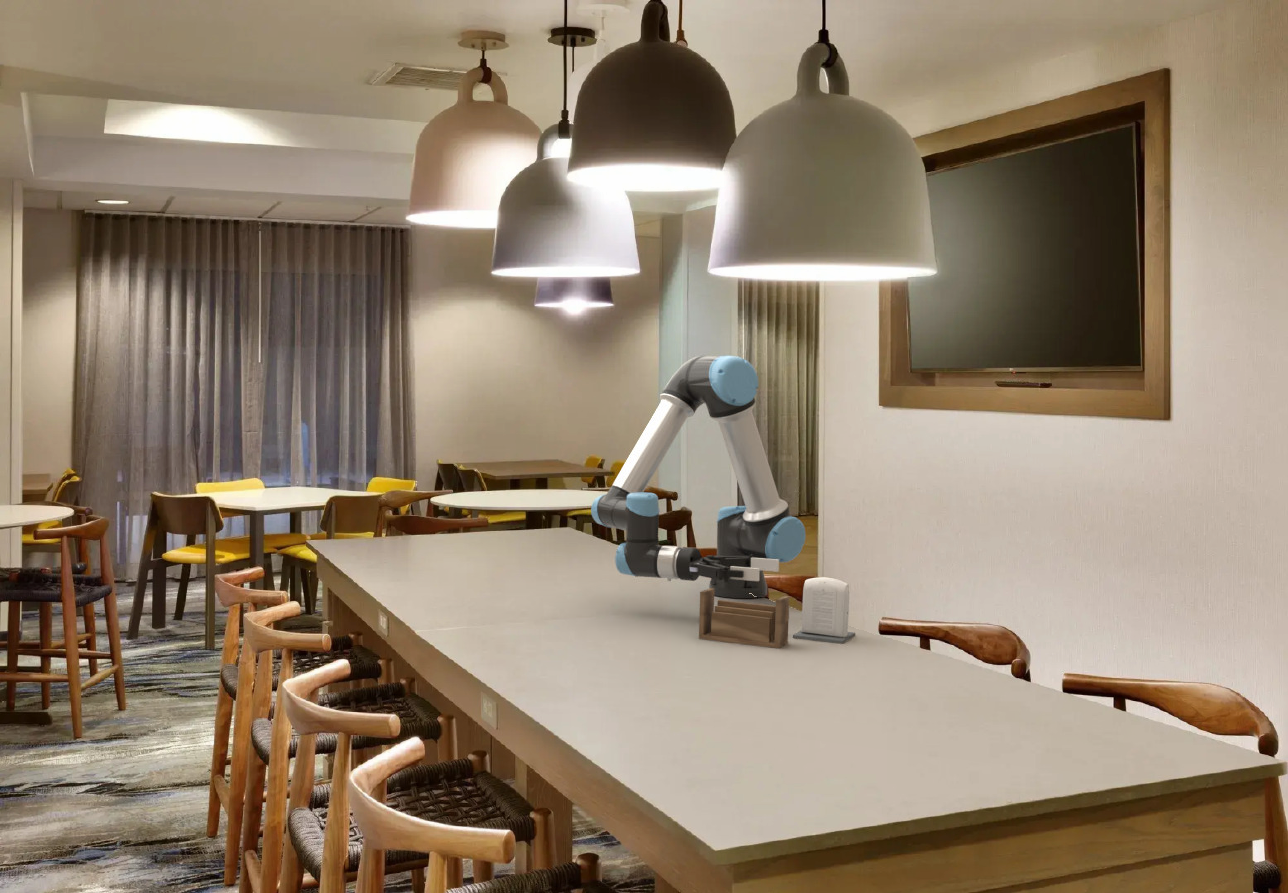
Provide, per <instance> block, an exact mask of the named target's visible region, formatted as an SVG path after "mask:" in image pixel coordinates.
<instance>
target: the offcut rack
mask: <svg viewBox="0 0 1288 893" xmlns="http://www.w3.org/2000/svg"><path fill="white" fill-rule="evenodd" d="M698 618H699V619H698V622H699V623H698V639H699V640H700V639H701V640H709V641H717V642H723V643H732V644H739V645H740V644H741V645H747V646H748V645H749V646H757V647H765V648H772V649H773V648H774V649H781V648H782V647H785V646H786V645H787V644H788V643H789V624H790V623H789V621H790V620H789V618H790V596H789V595H788V596H787V595H784V596H782V597H779V598H777V599H776V600H775V605H770V604H769V605H768V604H761V603H760V604H759V603H751V602H742V601H732V600H723V599H719V600H717V605H715V595H714V589H713V588H709V587H708V588H707V589H705V590H702V591H700V592H699V617H698Z"/></svg>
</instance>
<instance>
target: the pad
mask: <svg viewBox="0 0 1288 893" xmlns="http://www.w3.org/2000/svg"><path fill="white" fill-rule="evenodd" d="M855 636H856V632H855V631H854V632H853V631H848V635H847V637H836V636H828V635H821V634H813V633H805V632H802V631H801V630H799V631H798V632H796V633H794V634H792V638H794V639H800V640H810V641H817V642H826V643H832V644H833V643H834V644H844V643H846V642H847V641H848V640H850V639H852V638H853V637H855Z"/></svg>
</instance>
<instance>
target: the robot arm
mask: <svg viewBox="0 0 1288 893" xmlns="http://www.w3.org/2000/svg"><path fill="white" fill-rule="evenodd" d="M757 374H758V373H757V371H756V369H755V368H754V366H753V365H752V363H750V361H748V360H747V359H744V357H740V356H736V355H735V356H734V355H731V354H728V355H727V354H726V355H725V354H724V355H698V356H695V357H692V358H691V359H689V360H687V361H686V362H684V363H683V364H682V365H681V366H680V367H678V369H677V370H676V372H675V373H673V375H672V376H671V378H670V379H669V381H667V383H666V385H665V387H664V388H663V390H662V391H661V393H660V395H659V400H660V403H659V405H658V407H656V410H655V412H654V413H653V415H652V417H651V419H650V420H649V421H648V424H647V425H646V427H645V429H644V430H643V432H642V433H641V435H640V437H639V439H638V440H637V442H636V444H635V445H634V448H633V449H632V451H631V452H630V454H629V456H628V457H627V459H626V461H625V462H624V464H623V466H622V467H621V469H620V471H619V473H618V474H617V476H616V478H615V480H614V481H613V482H612V485H611V486H610V488H609V489H608V491H607V493H606V494H602V495H599V496H598V497H596V498H595V499H594V500H593V501H592V504H591V509H590V512H591V517H592V519H593V520H594V521H595V523H596V524H598V525H600V526H601V525H602V526H604V527H606V528H609V529H612V528H613V529H619V530H621V531H625V534H626V535H625V539H626V540H625V542H622V543H620V544H619V545H618V547H617V549H616V552H615V553H616V554H615V557H614V560H615V561H614V562H615V568H616V570H617V571H618V572H619V573H620V574H623V575H626V576H632V577H637V578H638V577H642V578H643V577H644V578H656V579H657V578H658V579H666V582H671V581H672V580H682V581H693V582H695V581H697V580H698V578H699V577H702V578H703V577H704V578H708V579H710V581H709V583H708V589H709V588H713V589H714V596H716V597H720V598H721V597H722V598H730V599H758V598H762V597H766V596H767V595H768V584H767V580H766V577H765V575H764V574H765V573H764V571H765V572H774V573H776V572H780V563H789V562H791V561H792V560H794V559H796V558H797V556H799V554H800V553H801V552H802V549H803V547H804V546H805V542H806V529H805V525H804V524H803V522H802V521H801V520H800V519H798V518H797V517H795V516H792V514H791V510H790V507H789V504H788V502H787V501H786V500H784V499H781V498H780V496H779V493H778V489H777V486H776V483H775V480H774V477H773V474H772V470H771V467H770V464H769V461H768V457H767V455H766V451H765V448H764V445H763V441H762V439H761V435H760V433H759V429H758V426H757V424H756V420H755V416H754V414H753V409H754V408H755V405H756V404H757V402H756V398H755V397H756V396H757V393H758V390H757V389H758V388H759V378H758V375H757ZM703 404H705V405H706V409H707V412H708V415H709V417H710V419H713V420H714V421H716V422H718V425H719V428H720V431H721V434H722V438H723V441H724V443H725V446H726V450H727V452H728V457H729V459H730V462H731V465H732V469H733V472H734V475H735V478H736V481H737V483H738V487H739V490H740V493H741V497H742V500H743V503H744V505H738V506H736V505H735V506H734V505H733V506H723V507H721V508H720V509H719V510H718V514H717V521H716V524H717V526H716V527H717V530H716V555H714V554H713V555H705V556H702V554H701V550H700V549H698V548H697V547H687V546H685V547H684V546H683V547H681V546H676V545H660V544H659V522H660V521H659V520H660V519H659V517H660V508H659V506H660V505H659V497H658V495H657V494H656V493H653V492H645V490H646V489H647V487H648V485H649V483H650V482H651V481H652V478H653V477H654V475H655V473H656V471H657V470H658V468H659V467H660V464H661V463H662V461H663V459H664V458H665V456H666V454H667V453H668V451H669V449H670V447H671V445H672V444H673V443H674V441H675V439H676V437H677V435H678V434H679V432H680V430H681V428H682V427H683V426H684V424H685V422H686V420H687V419H688V418H691V417H693V416H694V414H695V413H696V412H697V410H698V408H699V407H701V406H702V405H703ZM749 593H752V594H753V595H754V596H757V597H758V598H757V597H754V596H753V595H752V594H749Z"/></svg>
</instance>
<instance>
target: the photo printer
mask: <svg viewBox="0 0 1288 893" xmlns="http://www.w3.org/2000/svg"><path fill="white" fill-rule="evenodd" d="M849 608H850V587H849V584H848V583H847V582H845V581H842V580H840V579H837V578H832V577H824V576H820V577H813V578H812V577H811V578H807V579H806V580H805V581H804V584H803V589H802V611H801V612H802V613H801V628H800V629H801V630H800V631H802V632H805V633H813V634H821V635H828V636H836V637H847V635H848V632H849V630H848V629H849V615H850V614H849V612H850V609H849Z"/></svg>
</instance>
